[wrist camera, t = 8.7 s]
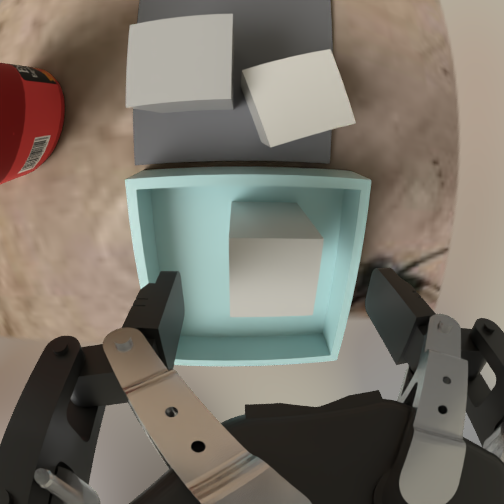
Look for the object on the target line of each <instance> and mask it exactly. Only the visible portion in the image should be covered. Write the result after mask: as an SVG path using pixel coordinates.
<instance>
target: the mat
mask: <svg viewBox="0 0 504 504" xmlns="http://www.w3.org/2000/svg"><path fill="white" fill-rule="evenodd" d="M210 14H233V29H234V107H233V110H202V111H184V112H171V113H158V112H152V111H146V110H139V109H133V131H134V156H135V165H145V164H159V163H175V162H196V161H290V162H312V163H328V164H330V153H331V133H332V130H328V131H324V132H321V133H317V134H314V135H310V136H307V137H303V138H300V139H296V140H293V141H290V142H287V143H283V144H280V145H277V146H274V147H269V146H267V145H265V144H264V143H262V142H261V140H260V137H259V135H258V132H257V129H256V126H255V124H254V121H253V118H252V115H251V113H250V110H249V107H248V105H247V102H246V99H245V97H244V94H243V92H242V89H241V77H242V70H244V69H248V68H251V67H254V66H258V65H261V64H265V63H269V62H272V61H276V60H280V59H284V58H288V57H293V56H297V55H302V54H307V53H311V52H317V51H322V50H328V49H331V52H332V54H333V47H332V19H331V1H330V0H140V3H139V11H138V20H137V24H138V23H143V22H148V21H154V20H161V19H168V18H176V17H185V16H195V15H210Z"/></svg>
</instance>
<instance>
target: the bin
mask: <svg viewBox="0 0 504 504" xmlns="http://www.w3.org/2000/svg"><path fill="white" fill-rule="evenodd" d="M125 184H126V194H127V204H128V213H129V221H130V228H131V235H132V242H133V249H134V255H135V261H136V267H137V272H138V278H139V283H140V288H141V289H142V288H143V287H144V286H146V285H147V284H148V283H155V282H156V280H157V278H158V276H159V274H160V272H161V271H179V272H180V275H181V283H182V290H183V298H184V307H185V313H184V321H183V325H182V329H181V334H180V338H179V343H178V348H177V352H176V357H175V362H174V365H190V366H262V365H263V366H264V365H284V364H300V363H313V362H324V361H333V360H337V357H338V354H339V350H340V347H341V343H342V339H343V335H344V331H345V327H346V323H347V319H348V315H349V311H350V307H351V302H352V298H353V293H354V288H355V284H356V279H357V274H358V268H359V263H360V258H361V252H362V246H363V240H364V234H365V227H366V221H367V213H368V206H369V198H370V189H371V180H370V179H368V178H366V177H364V176H362V175H359V174H357V173H355V172H353V171H348V170H335V169H320V168H300V167H265V166H222V167H188V168H168V169H153V170H143V171H141V172H139V173H137V174H135V175H133V176H131V177H129V178H127V179H125ZM231 202H292V203H298V205H299V206H300V207H301V209H302V210H303V211H304V213H305V214H306V215H307V217H308V218H309V219H310V221H311V222H312V223H313V225H314V226H315V227H316V229H317V230H318V232H319V233H320V234H321V236H322V237H323V238H324V242H323V249H322V257H321V264H320V272H319V279H318V285H317V292H316V298H315V304H314V310H313V315H308V316H280V317H230V290H229V228H230V215H231Z"/></svg>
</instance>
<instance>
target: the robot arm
mask: <svg viewBox="0 0 504 504" xmlns="http://www.w3.org/2000/svg"><path fill="white" fill-rule="evenodd" d="M365 308H366V312H367V314H368V316H369V317H370V319H371V321H372V323H373V324H374V326H375V328H376V329H377V331H378V333H379V335H380V336H381V338H382V340H383V342H384V343H385V345H386V347H387V349H388V351H389V352H390V354H391V356H392V358H393V360H394V361H395V363H396V365H398V364H404V363H408V364H409V366H408V368H407V370H406V372H405V376H404V379H403V383H402V386H401V390H400V393H399V396H398V399H397V401H394V400H386V399H382V397H381V394H380V392H379V390H377V391H372V392H366V393H361V394H355V395H349V396H347V397H344V398H342V399H339V400H337V401H334V402H331V403H329V404H326V405H323V406H321V407H309V406H300V405H291V404H283V403H275V404H254V405H245V415H241V416H237V417H234V418H231V419H229V420H226V421H224V422H222V423H219V421H218V420H217V419H216V418H215V417H214V416H213V415H212V414H211V412H210V411H209V410H208V409H207V408H206V407H205V405H204V404H203V403H202V402H201V401H200V400H199V398H198V397H197V396H196V395H195V394H194V393H193V391H192V390H191V389H190V388H189V387H188V385H187V384H186V383H185V382H184V380H183V379H182V378H181V377H180V376H179V374H178V373H177V372H176V371H175V370H174V369H173V366H174V362H175V357H176V352H177V348H178V343H179V338H180V334H181V329H182V325H183V321H184V313H185V307H184V298H183V290H182V283H181V275H180V272H179V271H161V272H160V274H159V276H158V278H157V280H156V282H155V283H148V284H147V285H146V286H144V287H143V288H142V289H141V290H140V291H139V293H138V295H137V297H136V300H135V301H134V303H133V306H132V307H131V309H130V311H129V313H128V316H127V318H126V320H125V322H124V324H123V326H122V328H119V329H116V330H114V331H112V332H110V333H109V334H108V335H107V336H106V337H105V339H104V341H103V344H100V345H94V346H87V347H81V346H80V343H79V341H78V340H77V339H76V338H74V337H72V336H61V337H58V338H56V339H54V340H52V341H51V342H50V343H48V345H47V346H46V348H45V349H44V351H43V353H42V355H41V356H40V358H39V360H38V362H37V364H36V366H35V368H34V370H33V371H32V373H31V375H30V377H29V380H28V382H27V384H26V386H25V388H24V390H23V392H22V394H21V396H20V398H19V400H18V403H17V405H16V407H15V409H14V412H13V414H12V416H11V419H10V421H9V424H8V426H7V429H6V431H5V434H4V436H3V439H2V442H1V444H0V504H100V499H99V497H98V494H97V493H96V491H95V490H94V489H93V488H92V487H91V486H89V478H90V473H91V468H92V463H93V458H94V453H95V448H96V444H97V439H98V435H99V431H100V427H101V422H102V418H103V415H104V411H105V406H106V405H112V404H120V403H127V402H128V403H129V405H130V407H131V409H132V411H133V413H134V414H135V416H136V418H137V420H138V421H139V423H140V425H141V426H142V428H143V429H144V431H145V433H146V434H147V436H148V438H149V439H150V441H151V442H152V444H153V446H154V447H155V449H156V450H157V452H158V453H159V455H160V456H161V458H162V459H163V461H164V462H165V464H166V465H167V466H168V468H169V470H168V471H167V472H166V473H164V474H163V475H162V476H161V477H160V478H159V479H158V480H157V481H155V483H153V484H152V485H151V486H150V487H149V488H148V489H146V490H145V491H144V492H143V493H141V494H140V495H139V496H138V497H137V498H135V499H134V500H133V501H132V502H131V503H129V504H504V333H503V331H502V330H501V329H500V328H499V327H498V325H496V324H495V323H494V322H493V321H491V320H488V319H485V318H480V319H477V320H476V322H475V324H474V326H473V328H472V329H465V328H460V325H459V324H458V323H457V321H456V320H454V319H453V318H451V317H450V316H447V315H444V314H435V313H434V311H433V310H432V309H431V308H430V307H429V305H428V304H427V303H426V302H425V301H424V300H423V298H421V296H420V295H419V294H418V293H417V292H416V290H415V289H414V288H413V287H412V286H411V285H410V284H409V283H407V282H406V281H404V280H403V279H401V278H400V277H399V276H398V275H397V274H396V273H395V272H394V270H393V269H392V268H375V269H374V270H373V272H372V275H371V279H370V283H369V287H368V292H367V296H366V300H365ZM486 362H488V364H489V365H490V367H491V368H492V370H493V372H494V373H495V375H496V385H495V387H494V388H493V389H492V391H491V390H490V389H489V387H488V385H487V384H486V382H485V380H484V379H483V377H482V375H481V374H480V372H481V370H482V368H483V367H484V365H485V364H486ZM465 412H466V413H467V414H468V417H469V418H470V420H471V423H472V425H473V427H474V429H475V431H476V433H477V436H478V438H479V440H480V442H481V444H482V447H483V448H482V447H480V446H478V445H477V444H475V443H473V442H471V441H469V440H468V439H466V438H464V437H463V429H464V421H465Z"/></svg>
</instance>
